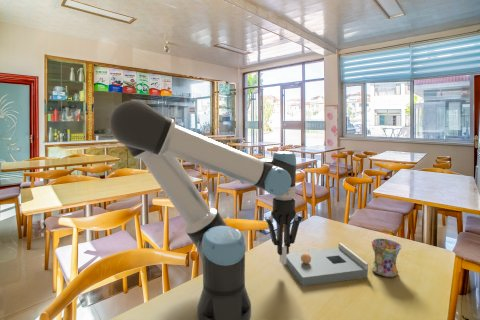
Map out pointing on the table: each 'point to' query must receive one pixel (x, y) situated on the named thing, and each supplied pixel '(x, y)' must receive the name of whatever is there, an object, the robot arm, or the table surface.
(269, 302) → the table surface
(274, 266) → the table surface
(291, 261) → the board
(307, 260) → the ball
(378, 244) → the mug
